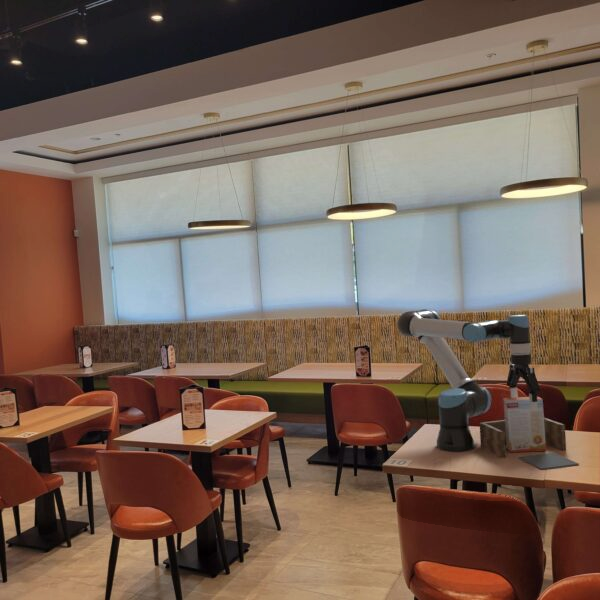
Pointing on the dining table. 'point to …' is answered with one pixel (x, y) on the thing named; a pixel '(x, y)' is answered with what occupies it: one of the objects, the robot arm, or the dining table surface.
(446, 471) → the dining table surface
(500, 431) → the cubby shelf
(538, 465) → the mat
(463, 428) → the robot arm
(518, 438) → the cracker box
